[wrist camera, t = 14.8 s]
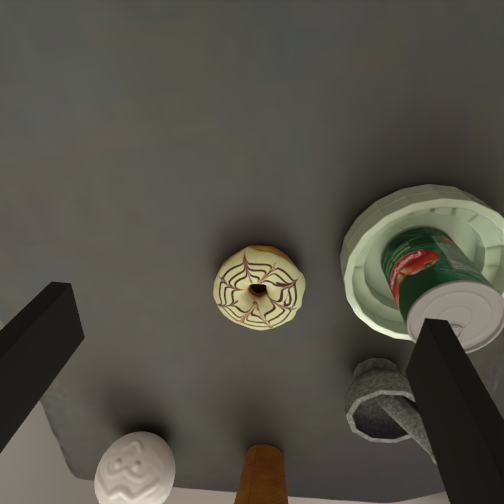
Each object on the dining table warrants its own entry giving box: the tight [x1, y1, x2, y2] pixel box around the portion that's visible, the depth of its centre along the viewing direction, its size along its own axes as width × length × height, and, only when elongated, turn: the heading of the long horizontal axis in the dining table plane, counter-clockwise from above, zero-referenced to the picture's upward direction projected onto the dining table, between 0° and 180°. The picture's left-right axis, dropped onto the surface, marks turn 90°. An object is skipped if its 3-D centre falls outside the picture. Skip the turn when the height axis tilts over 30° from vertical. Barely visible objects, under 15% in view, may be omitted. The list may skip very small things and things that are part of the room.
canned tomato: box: [380, 225, 504, 353], centre depth 35 cm, size 8×8×11 cm
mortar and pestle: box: [345, 358, 437, 465], centre depth 44 cm, size 11×9×12 cm
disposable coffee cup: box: [234, 444, 288, 504], centre depth 56 cm, size 10×10×12 cm
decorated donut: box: [213, 245, 305, 330], centre depth 43 cm, size 10×11×4 cm
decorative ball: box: [95, 431, 175, 504], centre depth 57 cm, size 12×12×12 cm
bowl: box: [339, 184, 504, 340], centre depth 38 cm, size 17×17×5 cm
